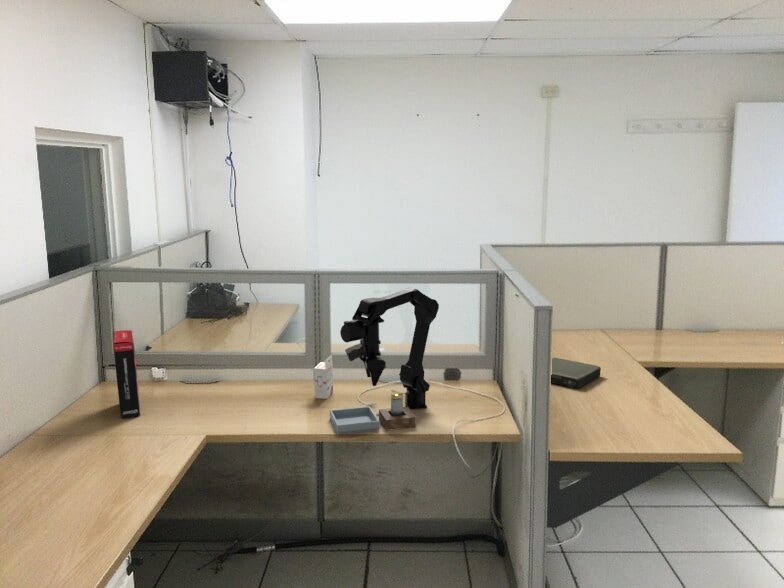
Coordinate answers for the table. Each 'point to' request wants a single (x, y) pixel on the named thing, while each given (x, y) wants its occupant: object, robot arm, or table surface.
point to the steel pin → (396, 404)
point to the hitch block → (397, 419)
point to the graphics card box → (126, 373)
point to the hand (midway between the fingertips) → (371, 381)
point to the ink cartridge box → (323, 379)
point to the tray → (354, 420)
